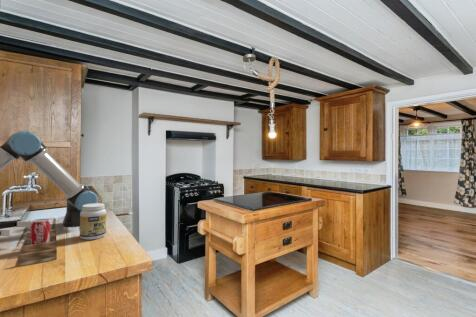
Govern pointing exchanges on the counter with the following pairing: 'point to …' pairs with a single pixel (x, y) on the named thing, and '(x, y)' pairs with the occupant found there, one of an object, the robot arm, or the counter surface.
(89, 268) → the counter surface
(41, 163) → the robot arm
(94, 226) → the supplement tub
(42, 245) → the rack
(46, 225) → the soda can
